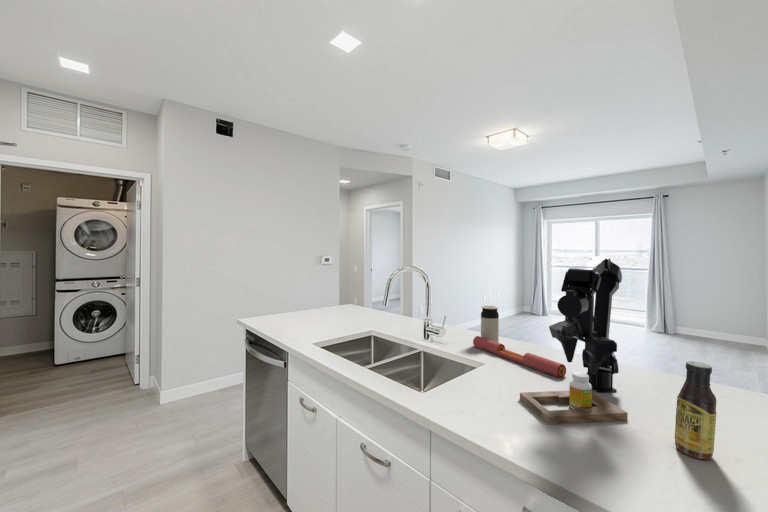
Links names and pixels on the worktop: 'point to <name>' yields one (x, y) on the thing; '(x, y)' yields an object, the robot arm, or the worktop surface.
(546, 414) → the brown wooden frame
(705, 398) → the sauce bottle
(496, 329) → the travel mug
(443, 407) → the worktop surface
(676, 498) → the worktop surface
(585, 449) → the worktop surface
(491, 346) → the blood vessel
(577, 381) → the supplement bottle
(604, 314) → the robot arm
